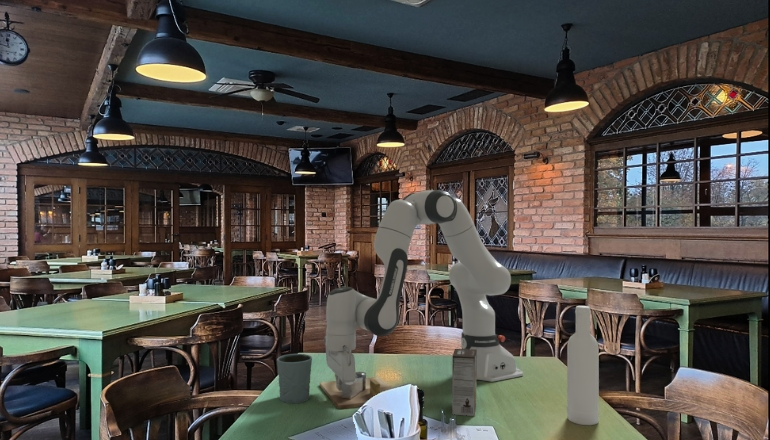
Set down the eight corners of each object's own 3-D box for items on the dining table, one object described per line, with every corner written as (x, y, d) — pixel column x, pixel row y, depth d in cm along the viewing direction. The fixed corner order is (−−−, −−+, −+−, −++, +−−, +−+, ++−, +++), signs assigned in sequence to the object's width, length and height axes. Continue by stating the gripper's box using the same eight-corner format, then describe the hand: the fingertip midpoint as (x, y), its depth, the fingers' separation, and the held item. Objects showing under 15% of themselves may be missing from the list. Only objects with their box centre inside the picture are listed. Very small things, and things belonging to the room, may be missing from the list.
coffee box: (454, 403, 150) (454, 347, 150) (476, 405, 149) (476, 349, 149) (451, 414, 141) (452, 355, 141) (475, 416, 140) (476, 356, 140)
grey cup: (317, 395, 157) (317, 355, 157) (301, 406, 147) (301, 363, 147) (287, 391, 160) (287, 352, 160) (269, 401, 151) (270, 360, 151)
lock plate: (378, 379, 173) (378, 364, 173) (404, 401, 152) (405, 384, 152) (319, 385, 166) (319, 369, 167) (338, 409, 145) (338, 391, 145)
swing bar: (356, 386, 162) (357, 371, 162) (367, 387, 161) (367, 372, 161) (340, 397, 151) (340, 381, 151) (351, 398, 150) (351, 382, 150)
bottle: (562, 415, 142) (562, 304, 142) (589, 414, 142) (590, 304, 143) (575, 426, 134) (575, 308, 134) (604, 425, 134) (604, 308, 135)
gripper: (361, 349, 146) (360, 399, 146) (342, 335, 165) (341, 379, 165) (339, 351, 144) (338, 401, 143) (322, 336, 163) (322, 380, 163)
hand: (340, 389), depth 154 cm, fingers closed
